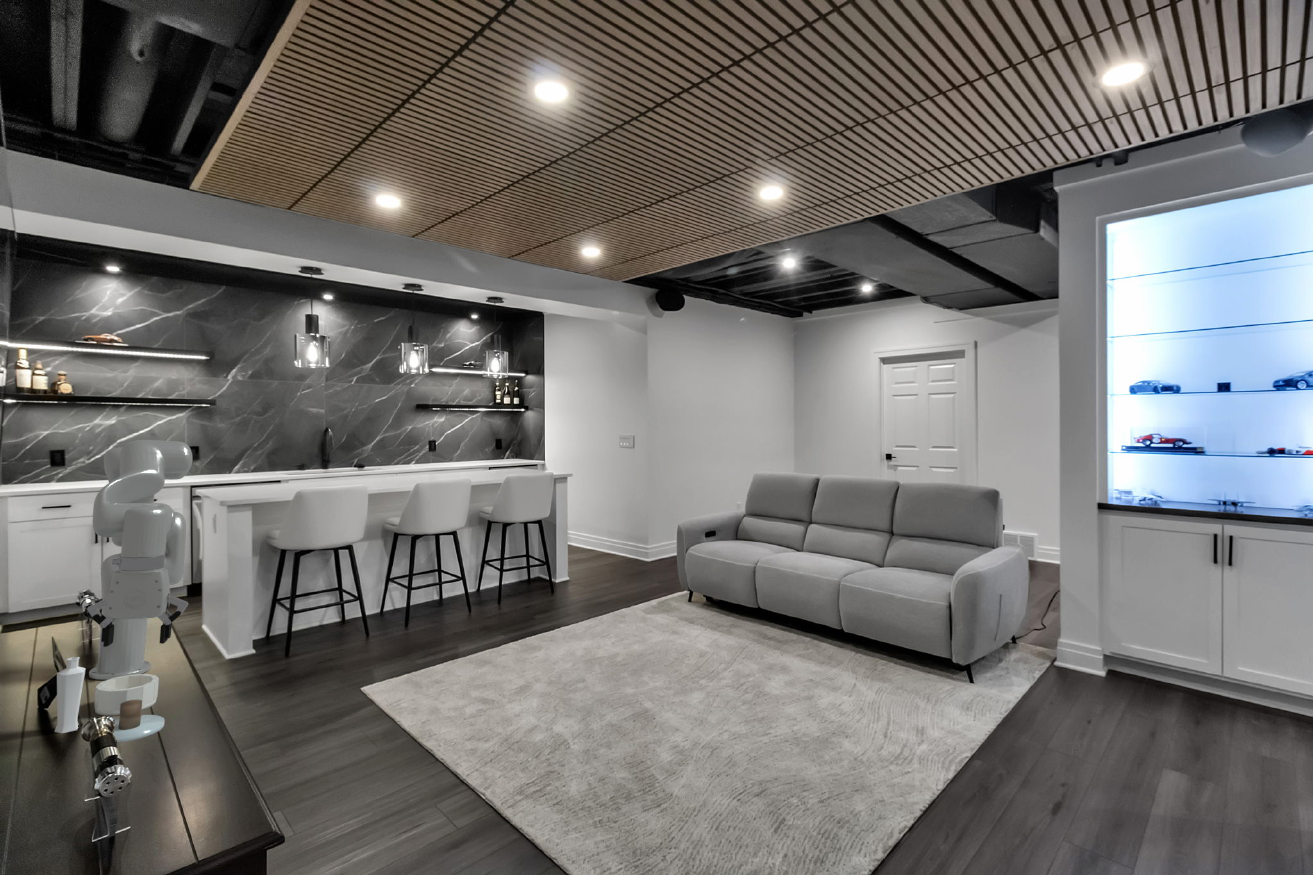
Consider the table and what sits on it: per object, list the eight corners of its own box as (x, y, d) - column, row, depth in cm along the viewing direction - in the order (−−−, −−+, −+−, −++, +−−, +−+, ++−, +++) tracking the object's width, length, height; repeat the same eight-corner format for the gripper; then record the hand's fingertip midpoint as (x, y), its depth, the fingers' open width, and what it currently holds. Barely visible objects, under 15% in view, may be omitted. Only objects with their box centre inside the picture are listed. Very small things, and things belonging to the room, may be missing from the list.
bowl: (106, 699, 151) (107, 676, 151) (162, 695, 155) (164, 672, 155) (86, 718, 141) (88, 693, 141) (147, 712, 145) (149, 688, 145)
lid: (105, 723, 139) (107, 695, 140) (171, 717, 144) (173, 690, 144) (81, 747, 128) (83, 716, 129) (154, 740, 133) (156, 710, 133)
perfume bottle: (87, 726, 137) (93, 656, 137) (62, 735, 132) (68, 662, 133) (73, 722, 138) (79, 653, 139) (49, 730, 134) (55, 659, 134)
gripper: (84, 567, 130) (77, 651, 130) (185, 565, 137) (179, 645, 137) (99, 561, 137) (92, 641, 137) (195, 560, 144) (189, 636, 143)
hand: (136, 643), depth 137 cm, fingers open, 9 cm apart
